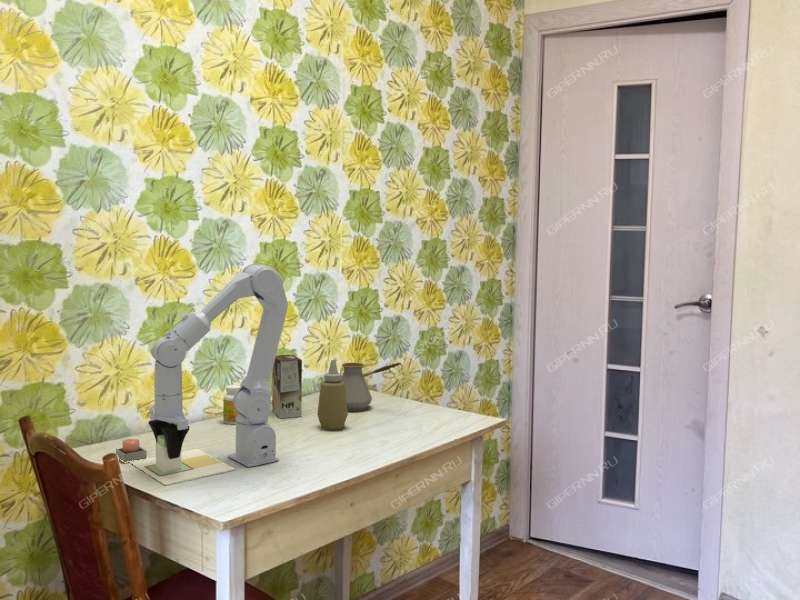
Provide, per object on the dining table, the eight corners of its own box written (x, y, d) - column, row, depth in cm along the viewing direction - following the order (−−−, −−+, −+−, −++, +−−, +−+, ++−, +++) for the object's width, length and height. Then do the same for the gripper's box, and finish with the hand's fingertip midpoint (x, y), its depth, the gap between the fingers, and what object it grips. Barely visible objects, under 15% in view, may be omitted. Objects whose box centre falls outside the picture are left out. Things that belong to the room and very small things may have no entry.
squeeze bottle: (350, 424, 205) (351, 358, 203) (344, 432, 197) (346, 363, 195) (320, 422, 205) (321, 356, 203) (314, 431, 197) (314, 362, 195)
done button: (142, 452, 171) (142, 441, 171) (126, 455, 169) (126, 444, 169) (135, 448, 174) (135, 437, 174) (120, 451, 172) (120, 440, 171)
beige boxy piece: (181, 468, 165) (181, 437, 164) (163, 472, 162) (163, 440, 161) (173, 463, 168) (173, 432, 167) (155, 466, 165) (155, 435, 164)
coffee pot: (325, 409, 219) (325, 358, 218) (344, 401, 230) (345, 352, 228) (392, 419, 211) (393, 366, 209) (408, 410, 221) (410, 359, 219)
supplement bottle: (219, 422, 203) (219, 386, 202) (232, 418, 208) (232, 383, 207) (234, 425, 200) (235, 389, 199) (248, 421, 205) (248, 385, 204)
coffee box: (302, 416, 211) (303, 359, 209) (279, 418, 208) (280, 360, 207) (292, 409, 219) (293, 353, 218) (270, 410, 217) (271, 355, 215)
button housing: (146, 459, 171) (146, 450, 171) (124, 463, 168) (124, 454, 168) (137, 453, 175) (137, 445, 175) (115, 457, 172) (115, 449, 172)
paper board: (235, 470, 165) (235, 468, 165) (164, 485, 155) (164, 484, 155) (197, 450, 179) (197, 448, 179) (129, 463, 168) (129, 461, 168)
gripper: (136, 389, 166) (137, 450, 167) (165, 402, 155) (165, 467, 157) (167, 385, 171) (167, 444, 172) (197, 397, 160) (197, 460, 161)
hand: (168, 455), depth 165 cm, fingers open, 4 cm apart
